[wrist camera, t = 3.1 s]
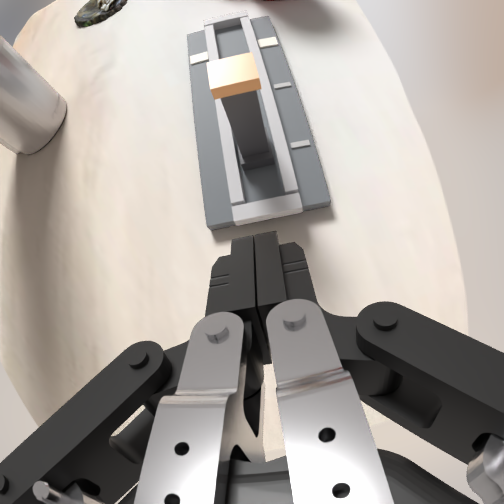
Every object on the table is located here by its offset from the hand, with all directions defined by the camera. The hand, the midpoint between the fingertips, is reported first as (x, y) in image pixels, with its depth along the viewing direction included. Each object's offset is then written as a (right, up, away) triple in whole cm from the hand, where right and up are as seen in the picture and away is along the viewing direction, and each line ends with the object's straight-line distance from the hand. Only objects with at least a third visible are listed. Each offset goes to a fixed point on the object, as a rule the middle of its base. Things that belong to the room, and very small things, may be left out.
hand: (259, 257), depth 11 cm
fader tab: (0, +8, +15) cm, 17 cm away
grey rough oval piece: (-27, +43, +29) cm, 58 cm away
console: (-1, +15, +18) cm, 23 cm away
